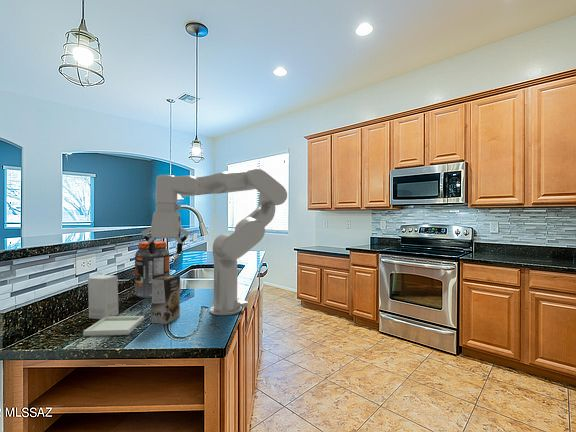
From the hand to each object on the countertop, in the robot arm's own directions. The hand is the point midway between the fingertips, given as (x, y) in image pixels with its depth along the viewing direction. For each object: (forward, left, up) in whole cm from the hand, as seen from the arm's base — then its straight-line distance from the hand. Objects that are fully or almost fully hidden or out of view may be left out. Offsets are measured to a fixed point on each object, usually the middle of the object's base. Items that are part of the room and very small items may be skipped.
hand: (165, 253), depth 116 cm
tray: (+15, +7, -25) cm, 30 cm away
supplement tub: (+17, -38, -25) cm, 49 cm away
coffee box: (0, 0, -25) cm, 25 cm away
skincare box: (+25, -5, -25) cm, 36 cm away
